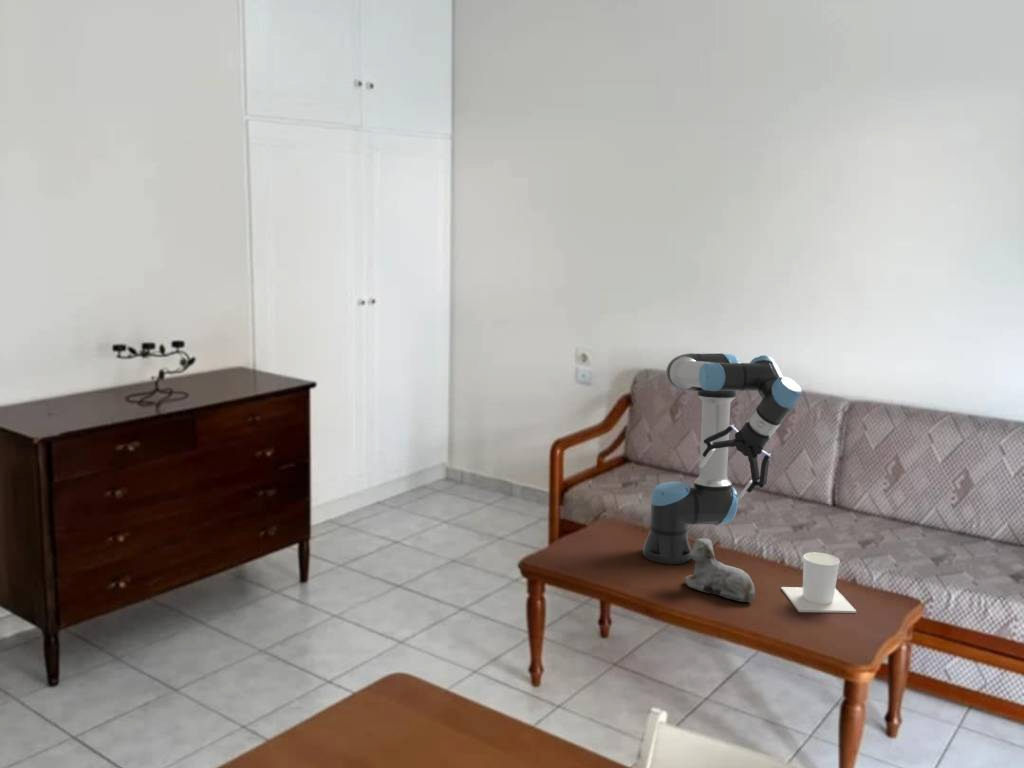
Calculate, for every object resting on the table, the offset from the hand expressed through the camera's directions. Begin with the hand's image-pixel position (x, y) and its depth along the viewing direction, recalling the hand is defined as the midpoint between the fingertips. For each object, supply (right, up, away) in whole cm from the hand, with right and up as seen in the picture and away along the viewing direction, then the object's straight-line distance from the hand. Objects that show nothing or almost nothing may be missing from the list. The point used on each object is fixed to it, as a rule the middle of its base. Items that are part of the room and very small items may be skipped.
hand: (720, 481), depth 263 cm
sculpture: (+1, -33, +7) cm, 34 cm away
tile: (+28, -34, +3) cm, 45 cm away
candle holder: (+28, -34, +3) cm, 44 cm away
